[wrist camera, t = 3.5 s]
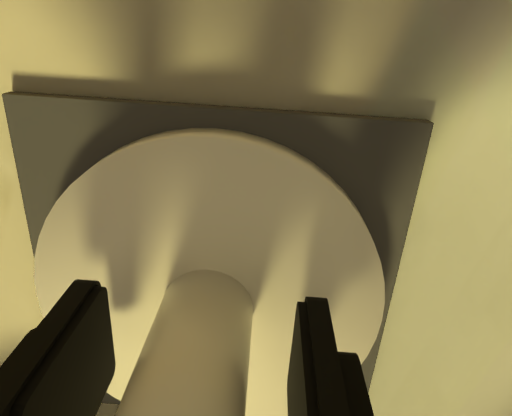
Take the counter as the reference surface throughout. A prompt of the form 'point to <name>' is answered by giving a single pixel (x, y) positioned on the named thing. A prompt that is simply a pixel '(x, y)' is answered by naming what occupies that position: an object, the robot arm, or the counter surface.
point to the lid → (211, 267)
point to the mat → (237, 119)
